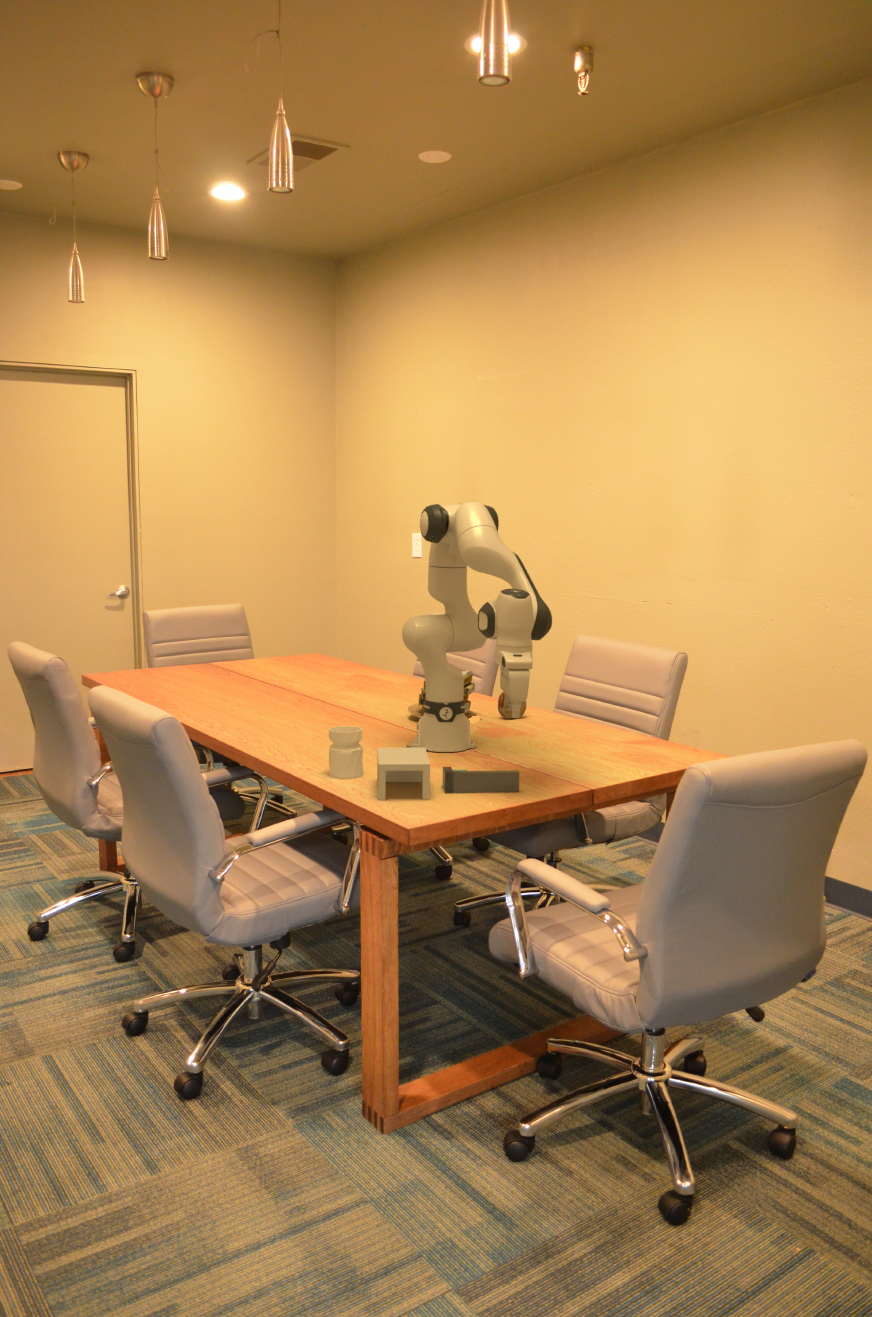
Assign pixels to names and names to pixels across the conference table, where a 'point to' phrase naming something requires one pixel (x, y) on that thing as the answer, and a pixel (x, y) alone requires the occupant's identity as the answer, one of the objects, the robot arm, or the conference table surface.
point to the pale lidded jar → (345, 752)
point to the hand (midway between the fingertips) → (512, 713)
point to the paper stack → (468, 689)
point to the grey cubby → (403, 768)
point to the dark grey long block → (480, 781)
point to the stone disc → (503, 710)
